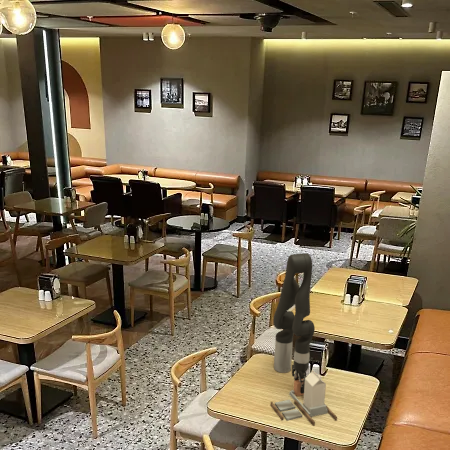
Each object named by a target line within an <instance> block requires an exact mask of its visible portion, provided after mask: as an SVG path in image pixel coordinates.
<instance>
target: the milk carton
mask: <svg viewBox="0 0 450 450" xmlns="http://www.w3.org/2000/svg"><path fill="white" fill-rule="evenodd" d="M306 376H307V377H306V378H305V386H304V395H303V401H302V402H303V403H302V404H303V406H304V407H305V408H306V409H307V410H308V411H309V408H312V407H316V406H321V405H324V403H325V399H326V387H327V383H326V382H325V381H323V376H322V375H321V374H320V373H319V374H317V372H315V370H314V369H312V370H311V372H310V373H309V374H308V375H306Z"/></svg>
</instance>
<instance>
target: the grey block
mask: <svg viewBox="0 0 450 450" xmlns="http://www.w3.org/2000/svg"><path fill="white" fill-rule="evenodd" d="M301 380H303V379H301ZM302 384H303V382H302ZM300 389H301V383H300V382H299V380H295V381H294V380H293V389H291V390H290V391H289V392H288V393H289V396H290V397H291V398H292V399H293V401H294V400H296V401H297V402H298V403H299V404H300V405H301V406H302V408H303V409H304V410H305V411H306V412H307V413H308V415H309V416H310V417H311V418H312V417H316V416H320V415H321V416H322V415H326V414H329V413H328V410H327V408H326V407H328V406H327V404H325V405H321V406H316V407H312V408H309V411H308V410H307V409H306V408H305V407H304V406H303V403H302V402H301V401H300V400H299V399H298V397H300V396H304V393H302V394H301V393H300Z"/></svg>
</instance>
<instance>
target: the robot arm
mask: <svg viewBox="0 0 450 450" xmlns="http://www.w3.org/2000/svg"><path fill="white" fill-rule="evenodd" d="M285 267H286V268H285V275H284V280H283V284H282V288H281V291H280V296H279V300H278V304H277V306H276V309H275V312H274V315H273V320H272V321H273V322H272V323H273V326H274V328H275V329H277V330H280V331H278V332H276V334H275V339H274V340H275V342H274V354H273V358H274V359H273V368H274V370H275V371H276V372H278V373H281V374H283V373H284V374H286V373H289V372H291V376H292V377H293V382H294V381H295V380H299V382H300V383H301V389H300V393H301V394H302V393H304V386H305V378H306V377H307V376H308V375H307V374H308V373H307V371H308V370H309V367H310V347H311V342H312V339H313V337H314V333H315V327H316V326H315V323H314V322H313V321H312V320H311V319H305V318H306V317H308V316H309V315H310V314H311V303H310V302H311V301H310V300H311V297H310V295H311V293H310V292H311V285H312V284H311V283H312V275H313V274H312V273H313V259H312V256H311V255H310V254H309V253H304V252H303V253H293V254H290V255H288V258H287V262H286V266H285ZM296 274H303V278H302V281H301V284H300V285H299V284H298V282H297V280H296V279H295V275H296ZM293 307H294V308H295V312H293V311H291V308H293ZM304 319H305V320H304ZM294 335H295V336H296V337H297V338H296V339H295V343H294V342H293V341H294ZM293 343H294V352H293ZM292 358H293V361H292ZM292 362H293V364H292ZM301 379H303V380H301ZM302 382H303V384H302Z"/></svg>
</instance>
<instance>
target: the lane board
mask: <svg viewBox="0 0 450 450" xmlns="http://www.w3.org/2000/svg"><path fill="white" fill-rule="evenodd" d="M324 405H326V403H325V402H324ZM269 406H271V407H270V408H272V410H273V411H274V412H275V414H277V416H278V417H279V420H281V421H284V419H285V420H286V421H291V420H297V419H299V418H303V417H305V418H306V420H307V421H309V423H310V424H311V426H313V427H315V425H316V422H315V420H314V419H313V418H312V417H310V416H309V415H308V413H307V412H306V411H305V410H304V409H303V408H302V406H301V405H300V404H299V403H298V402H297V401H296V400H293V402H292V401H291V399H285V400H282V401H276V402H274V403H273V401H270V405H269ZM296 407H297V408H296ZM326 408H327V410H328V413H327V414H329V416H330V417H331V418H332V419H333V420H334V421H335V422H336V421H338V416H337V414H335V413H334V412H333V411H332V410H331V409H330V408H329V406H327V407H326Z"/></svg>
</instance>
